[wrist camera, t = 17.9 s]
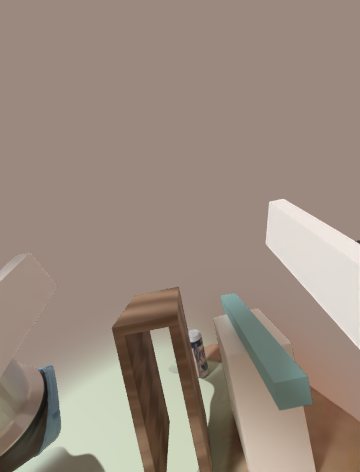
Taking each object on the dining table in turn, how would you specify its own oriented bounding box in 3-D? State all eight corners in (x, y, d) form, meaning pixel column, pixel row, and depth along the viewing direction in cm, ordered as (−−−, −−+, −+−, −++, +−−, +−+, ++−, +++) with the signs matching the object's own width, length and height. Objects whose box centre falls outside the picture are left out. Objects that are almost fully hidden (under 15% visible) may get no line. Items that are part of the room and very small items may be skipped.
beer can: (204, 381, 49) (196, 339, 49) (190, 376, 52) (181, 337, 51) (211, 368, 53) (203, 329, 53) (197, 364, 56) (189, 327, 56)
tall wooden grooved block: (216, 501, 28) (177, 314, 27) (153, 512, 28) (111, 327, 27) (205, 414, 41) (178, 286, 40) (162, 422, 41) (134, 295, 40)
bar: (312, 403, 18) (307, 376, 18) (279, 410, 18) (274, 382, 18) (237, 305, 42) (235, 293, 42) (223, 308, 42) (220, 296, 42)
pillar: (317, 478, 28) (291, 343, 27) (253, 489, 28) (226, 355, 27) (276, 403, 40) (257, 308, 39) (232, 411, 40) (212, 317, 39)
